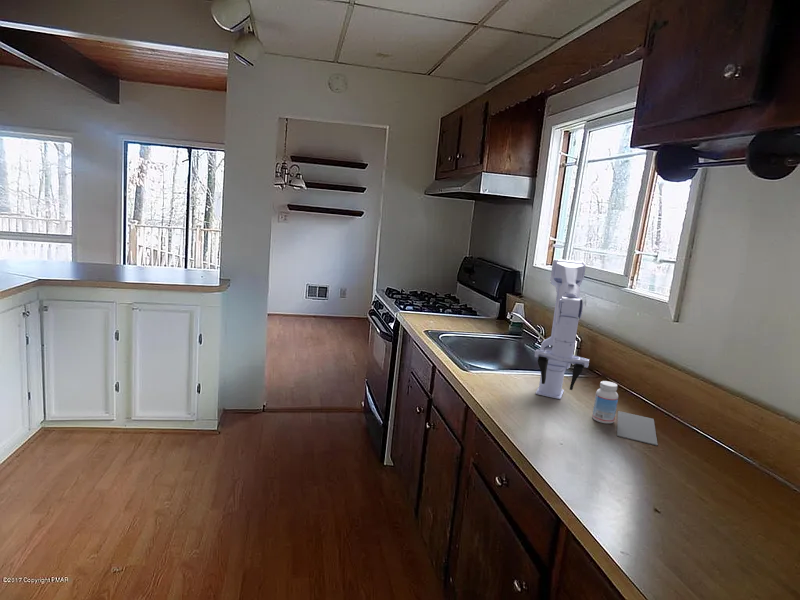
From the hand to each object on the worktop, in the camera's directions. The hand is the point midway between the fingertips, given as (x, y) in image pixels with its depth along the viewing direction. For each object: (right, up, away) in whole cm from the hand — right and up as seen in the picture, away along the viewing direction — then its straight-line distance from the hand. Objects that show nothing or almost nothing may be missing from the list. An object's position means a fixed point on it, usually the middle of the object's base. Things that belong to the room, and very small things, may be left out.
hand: (557, 385), depth 145 cm
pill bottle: (+15, -11, +5) cm, 19 cm away
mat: (+23, -12, +1) cm, 26 cm away
